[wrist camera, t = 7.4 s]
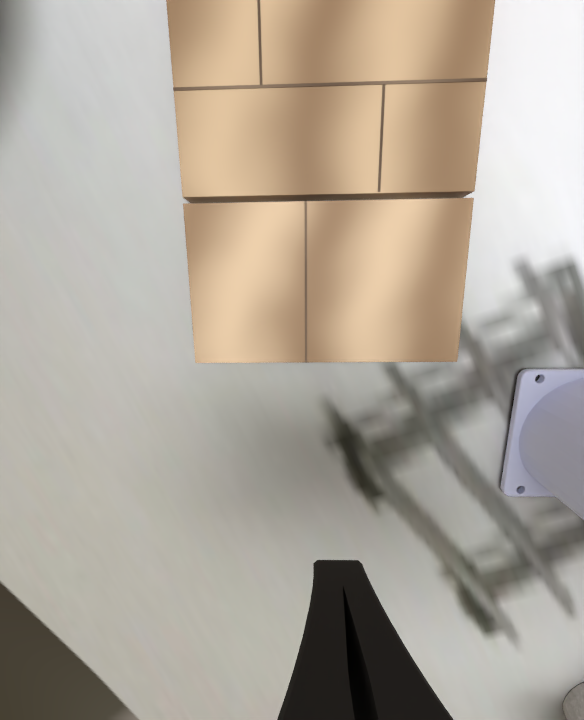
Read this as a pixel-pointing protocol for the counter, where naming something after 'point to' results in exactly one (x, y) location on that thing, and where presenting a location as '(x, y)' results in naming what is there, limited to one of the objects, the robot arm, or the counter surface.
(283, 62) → the laid floor boards
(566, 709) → the house plant
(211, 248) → the click plank
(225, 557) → the counter surface
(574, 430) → the robot arm
